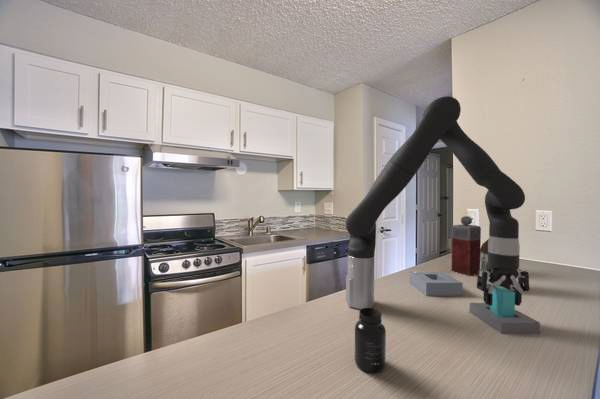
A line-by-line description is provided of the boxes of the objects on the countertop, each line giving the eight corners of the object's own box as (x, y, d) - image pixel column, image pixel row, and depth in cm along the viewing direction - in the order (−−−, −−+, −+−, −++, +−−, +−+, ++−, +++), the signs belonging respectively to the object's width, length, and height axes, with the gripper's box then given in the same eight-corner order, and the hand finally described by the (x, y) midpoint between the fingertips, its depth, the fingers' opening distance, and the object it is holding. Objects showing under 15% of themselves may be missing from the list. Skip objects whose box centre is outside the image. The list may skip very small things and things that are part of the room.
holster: (500, 333, 72) (501, 322, 72) (469, 311, 85) (469, 302, 85) (539, 333, 72) (539, 322, 72) (502, 311, 85) (502, 302, 85)
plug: (502, 325, 76) (503, 292, 76) (489, 317, 81) (490, 286, 81) (514, 325, 76) (515, 292, 76) (500, 317, 81) (501, 286, 81)
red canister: (482, 272, 127) (484, 216, 127) (469, 276, 122) (470, 217, 122) (464, 268, 135) (465, 215, 135) (451, 271, 130) (452, 215, 130)
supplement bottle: (350, 355, 62) (351, 305, 61) (378, 353, 62) (378, 304, 62) (359, 375, 55) (360, 319, 55) (390, 373, 55) (391, 318, 55)
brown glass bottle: (489, 282, 114) (490, 226, 113) (517, 290, 104) (519, 229, 103) (473, 285, 110) (475, 227, 109) (501, 294, 100) (502, 230, 99)
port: (426, 295, 98) (426, 281, 98) (409, 283, 112) (410, 270, 112) (462, 295, 98) (462, 281, 98) (441, 283, 112) (441, 270, 112)
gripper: (489, 254, 74) (488, 310, 74) (538, 254, 74) (536, 310, 75) (471, 249, 82) (470, 299, 82) (515, 248, 82) (514, 299, 82)
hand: (502, 304), depth 78 cm, fingers open, 8 cm apart
